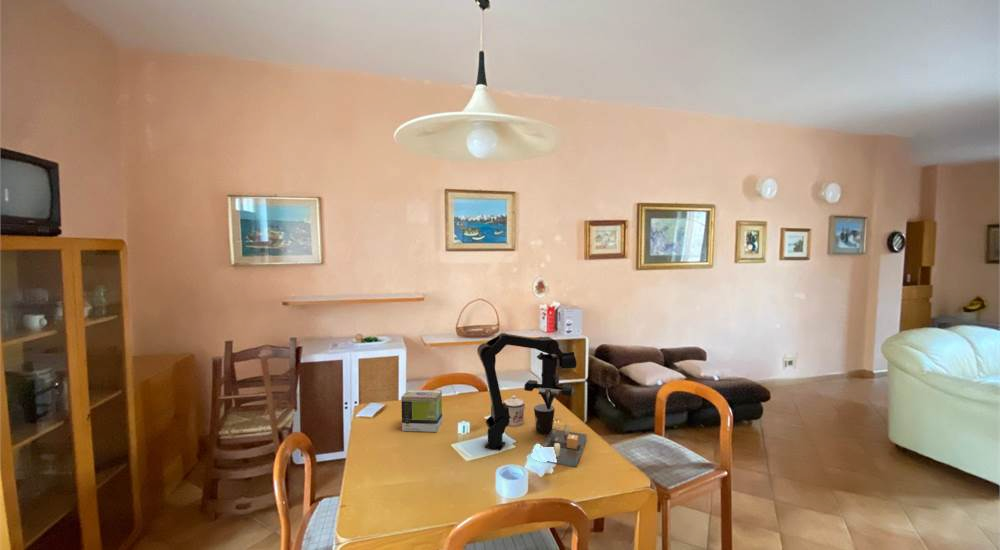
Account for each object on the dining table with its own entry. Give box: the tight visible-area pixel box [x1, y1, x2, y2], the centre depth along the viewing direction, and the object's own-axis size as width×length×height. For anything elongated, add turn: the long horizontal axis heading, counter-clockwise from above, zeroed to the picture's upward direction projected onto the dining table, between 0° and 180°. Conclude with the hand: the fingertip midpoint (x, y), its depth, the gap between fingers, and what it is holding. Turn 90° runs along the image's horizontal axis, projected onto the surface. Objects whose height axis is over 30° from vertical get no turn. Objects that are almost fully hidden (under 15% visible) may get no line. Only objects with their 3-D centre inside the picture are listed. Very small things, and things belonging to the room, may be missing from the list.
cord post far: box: [563, 424, 570, 437], centre depth 162 cm, size 2×2×4 cm
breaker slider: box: [567, 434, 578, 449], centre depth 153 cm, size 4×4×4 cm
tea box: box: [400, 389, 443, 433], centre depth 176 cm, size 15×10×15 cm
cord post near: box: [554, 443, 560, 457], centre depth 146 cm, size 2×2×4 cm
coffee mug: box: [533, 403, 556, 436], centre depth 174 cm, size 12×9×10 cm
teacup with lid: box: [502, 395, 526, 427], centre depth 182 cm, size 12×9×12 cm
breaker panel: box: [541, 428, 587, 468], centre depth 156 cm, size 22×14×3 cm, turn 159°
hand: (548, 409), depth 163 cm, fingers closed
